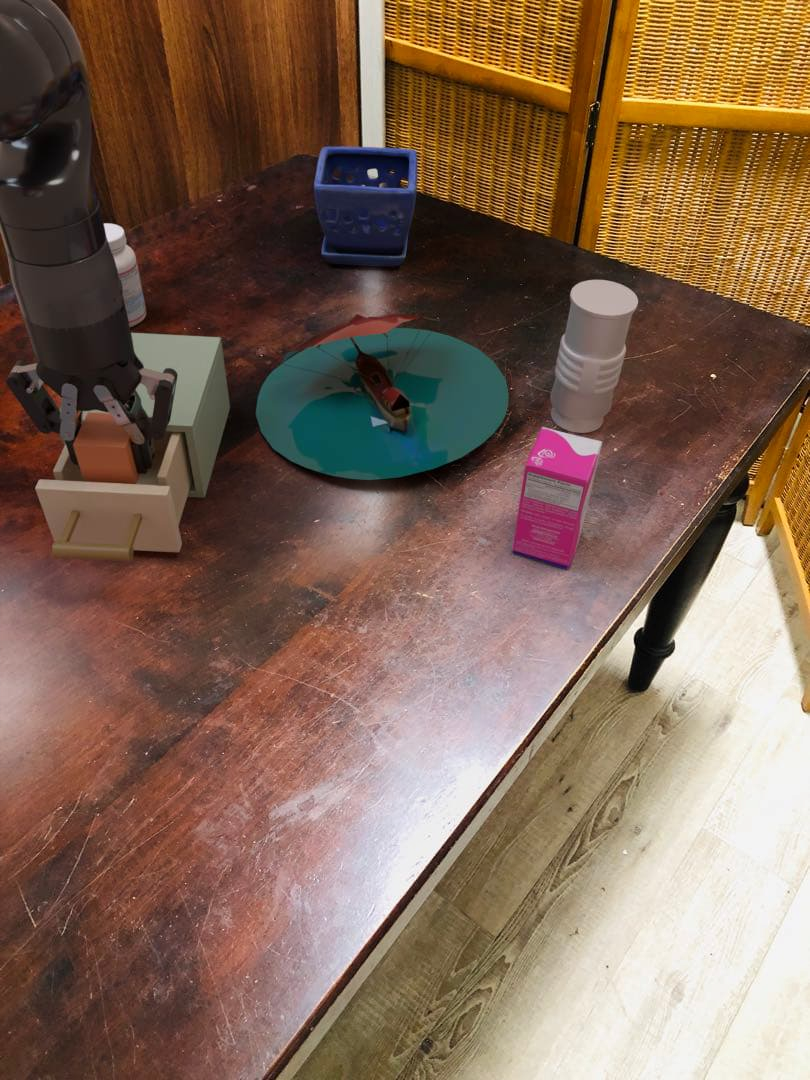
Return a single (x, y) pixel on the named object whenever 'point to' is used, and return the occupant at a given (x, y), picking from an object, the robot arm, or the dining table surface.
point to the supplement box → (555, 497)
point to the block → (104, 451)
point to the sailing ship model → (381, 400)
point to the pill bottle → (127, 273)
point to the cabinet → (189, 395)
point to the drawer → (118, 507)
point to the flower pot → (365, 204)
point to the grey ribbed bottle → (591, 354)
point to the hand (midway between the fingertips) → (116, 465)
